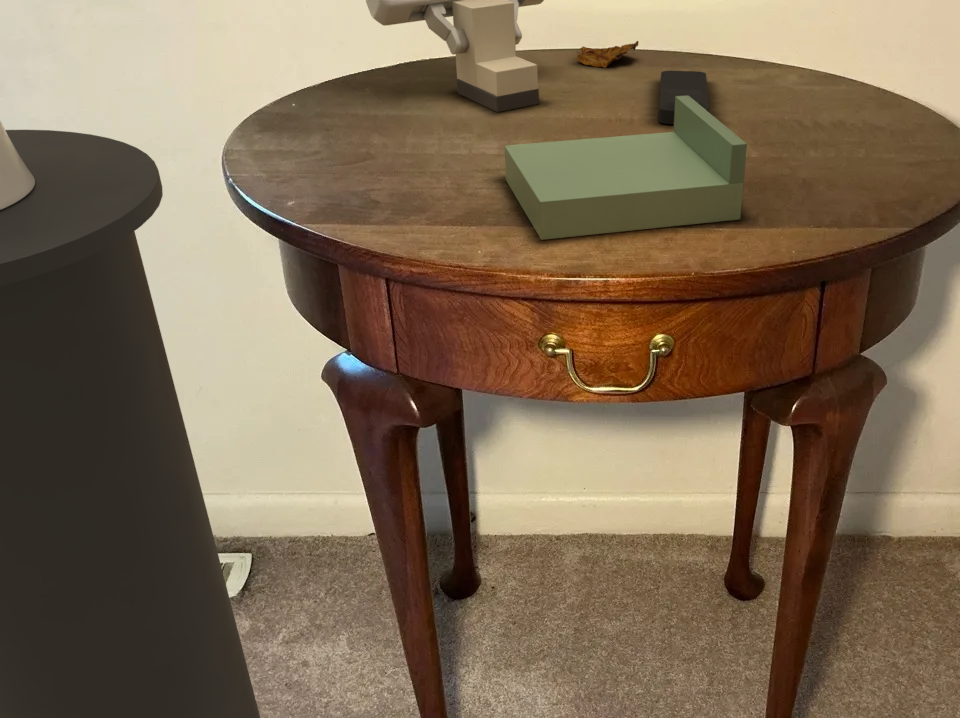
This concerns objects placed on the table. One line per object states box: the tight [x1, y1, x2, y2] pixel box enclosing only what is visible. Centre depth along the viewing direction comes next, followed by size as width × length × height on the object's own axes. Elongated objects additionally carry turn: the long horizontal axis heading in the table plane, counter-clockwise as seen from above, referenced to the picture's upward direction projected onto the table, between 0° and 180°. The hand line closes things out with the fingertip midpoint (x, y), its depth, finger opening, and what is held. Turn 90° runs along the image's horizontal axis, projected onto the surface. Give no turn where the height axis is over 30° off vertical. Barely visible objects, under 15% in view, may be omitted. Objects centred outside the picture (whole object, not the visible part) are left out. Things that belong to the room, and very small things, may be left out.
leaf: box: [576, 40, 639, 69], centre depth 121 cm, size 6×7×2 cm
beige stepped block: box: [452, 0, 540, 113], centre depth 106 cm, size 8×5×9 cm, turn 36°
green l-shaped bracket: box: [504, 96, 748, 241], centre depth 84 cm, size 16×13×6 cm
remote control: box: [657, 70, 710, 125], centre depth 107 cm, size 5×2×15 cm
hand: (488, 46), depth 106 cm, fingers closed on beige stepped block, 5 cm apart
